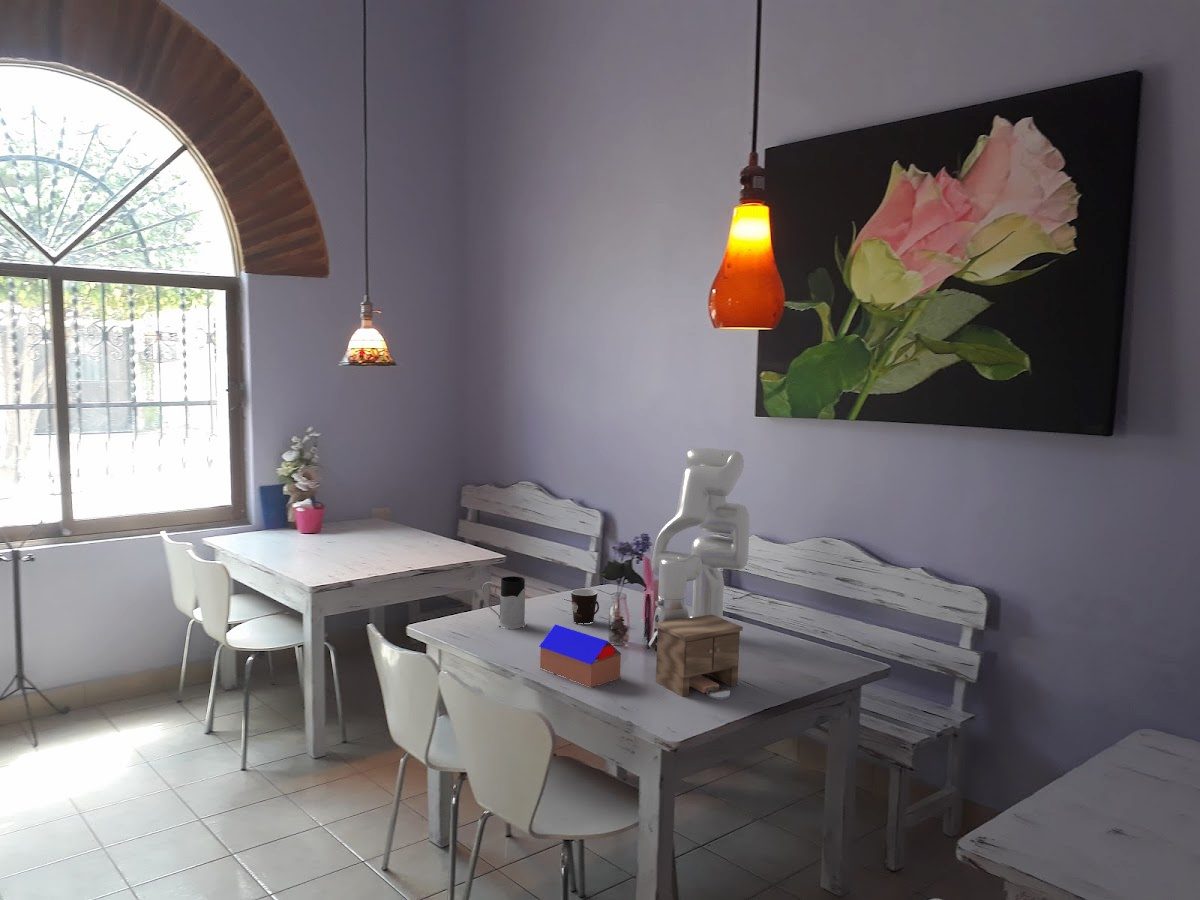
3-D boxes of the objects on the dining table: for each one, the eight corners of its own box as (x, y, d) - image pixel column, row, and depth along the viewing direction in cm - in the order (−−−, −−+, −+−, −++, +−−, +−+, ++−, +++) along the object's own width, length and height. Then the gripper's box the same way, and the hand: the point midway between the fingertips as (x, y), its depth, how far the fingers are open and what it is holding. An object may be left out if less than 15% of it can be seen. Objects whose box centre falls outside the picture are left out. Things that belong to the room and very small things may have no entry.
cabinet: (653, 681, 241) (655, 622, 240) (709, 670, 251) (711, 614, 250) (683, 698, 230) (686, 637, 228) (741, 686, 240) (744, 627, 238)
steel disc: (701, 695, 233) (701, 689, 233) (716, 690, 237) (716, 684, 237) (719, 702, 229) (720, 696, 228) (734, 696, 233) (734, 691, 233)
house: (569, 660, 257) (570, 620, 256) (621, 678, 244) (623, 636, 242) (538, 670, 249) (539, 628, 248) (590, 689, 235) (591, 645, 234)
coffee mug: (568, 618, 298) (569, 589, 297) (594, 618, 300) (595, 588, 299) (573, 629, 287) (574, 598, 286) (600, 628, 288) (601, 597, 287)
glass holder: (523, 629, 285) (525, 582, 283) (479, 627, 285) (479, 581, 284) (527, 621, 293) (528, 576, 292) (483, 620, 294) (484, 574, 292)
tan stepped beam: (656, 667, 252) (657, 643, 252) (670, 665, 255) (671, 641, 254) (703, 693, 234) (704, 666, 233) (718, 689, 237) (719, 663, 236)
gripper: (654, 609, 242) (651, 676, 244) (704, 602, 251) (701, 667, 252) (638, 602, 248) (636, 667, 250) (688, 596, 257) (685, 659, 259)
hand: (669, 666), depth 251 cm, fingers closed on tan stepped beam, 4 cm apart
